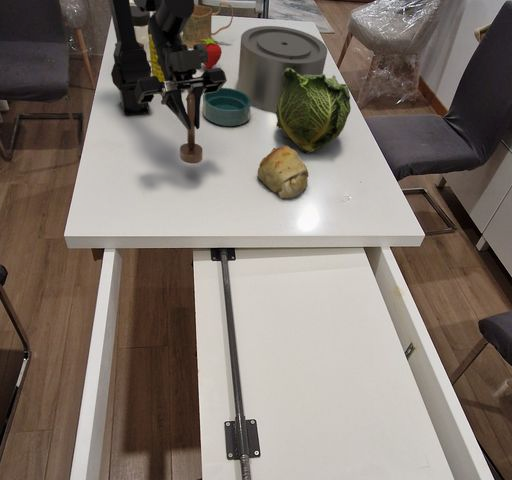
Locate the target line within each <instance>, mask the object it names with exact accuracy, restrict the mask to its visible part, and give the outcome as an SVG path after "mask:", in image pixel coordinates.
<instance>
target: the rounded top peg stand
mask: <svg viewBox="0 0 512 480" xmlns="http://www.w3.org/2000/svg"><path fill="white" fill-rule="evenodd" d="M186 98H187V100H186V113H187V116H188V118H189V121H190V126H191V130H190V131H188V130H187V129H186V130H187V131H186V132H187V133H186V135H187V142H185V143H182V145H180V147H179V156H180V159H181V161H183V162H184V163H187V164H192V165H194V164H198V163H201V162H202V160H203V159H204V158H203V157H204V155H203V152H204V151H203V147H202V146H201V145H200V144H198V143H196V127H195V96H194V95H193V94H192V93H189V94H188V93H187V94H186Z"/></svg>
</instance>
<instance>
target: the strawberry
mask: <svg viewBox="0 0 512 480" xmlns="http://www.w3.org/2000/svg"><path fill="white" fill-rule="evenodd" d="M208 36H209V35H208ZM201 40H203V41H205V42H201V43H200V44H202V43H205V46H206V49H207V52H208V58H209V60H208V63H202V64H203V66H204V67H205V68H206V69H213V68H215V66H216V65H217V64H218V62H219V61H220V59H221V56H222V53H223V51H222V47H221V45H220V44H218V42H219V41H218V40H215V39H213V38H212V39H210V38H208V39H201Z"/></svg>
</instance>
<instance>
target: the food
mask: <svg viewBox="0 0 512 480" xmlns="http://www.w3.org/2000/svg"><path fill="white" fill-rule="evenodd" d="M148 35H149V46H150V47H149V49H150V59H151V61H149V64H150V66H151V76H157V78H158V79H159V82H164V81H165V79H164V76H163V72H162V69H161V66H158V63H157V60H158V56H157V53H156V50H155V46H154V43H153V40H152V37H151V34H148ZM180 35H181V38H182V41H183V37H182V36H183V32H182V33H180Z"/></svg>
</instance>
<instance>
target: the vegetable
mask: <svg viewBox="0 0 512 480" xmlns="http://www.w3.org/2000/svg"><path fill="white" fill-rule="evenodd" d="M283 76H285V77H286V82H285V83H284V84H283V85H284V87H283V89H282V92H281V94H280V96H279V100H278V103H277V105H276V107H277V110H276V113H275V115H276V121H277V122H276V127H277V128H278V129H281V131H282V132H283V135H284V136H285V137H286V138H290V139H291V140H292V141H293V142H294V144H295V145H297V146H298V148H299V149H300V151H301V152H302V153H303V154H305V155H306V154H309V153H311V152H314V151H316V150H318V149H321V148H323V147H325V146H327V145H328V144H330V143H331V142H333V141H334V140H335V139H337V138H338V137H339V136H340V135H341V133H342V131H343V130H344V128H345V126H346V123H347V121H348V117H349V115H350V113H351V109H352V107H351V101H350V100H351V94H350V89H349V86H348V84H347V83H339V81H338V80H337V78H336V75H332V77H328V78H327V76H326V74H324V73H323V74H321V75H307V74H305V75H303V76H301V75H299V74H297V72H295V71H294V70H293V69H291V68H287V69H285V71H284V74H283ZM306 77H307V78H306ZM312 77H314V78H312Z"/></svg>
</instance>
